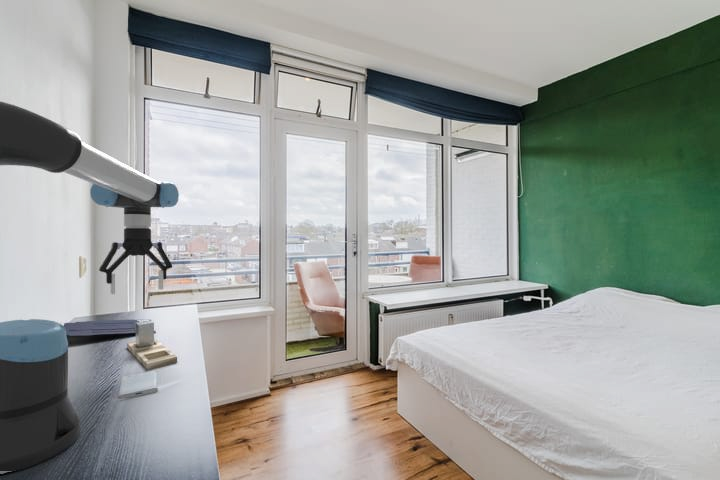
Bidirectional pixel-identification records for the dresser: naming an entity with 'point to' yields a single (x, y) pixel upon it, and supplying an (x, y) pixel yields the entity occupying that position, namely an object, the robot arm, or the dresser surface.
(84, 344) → the dresser surface
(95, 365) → the dresser surface
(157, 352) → the rail
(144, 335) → the post
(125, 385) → the hard drive
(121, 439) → the dresser surface
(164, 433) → the dresser surface
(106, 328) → the dark grey flat slab
